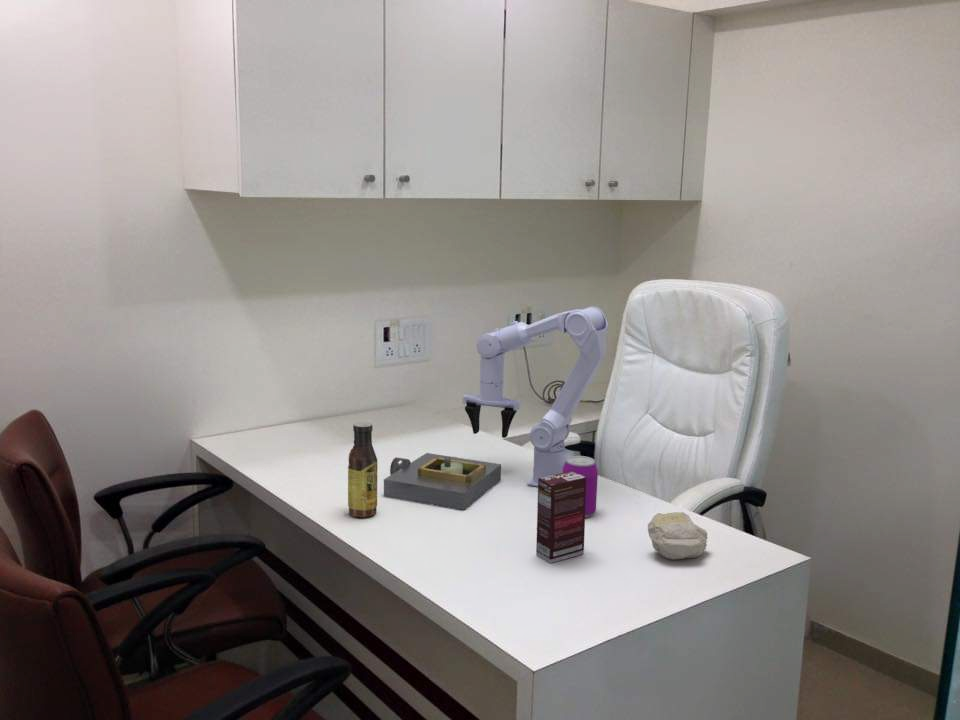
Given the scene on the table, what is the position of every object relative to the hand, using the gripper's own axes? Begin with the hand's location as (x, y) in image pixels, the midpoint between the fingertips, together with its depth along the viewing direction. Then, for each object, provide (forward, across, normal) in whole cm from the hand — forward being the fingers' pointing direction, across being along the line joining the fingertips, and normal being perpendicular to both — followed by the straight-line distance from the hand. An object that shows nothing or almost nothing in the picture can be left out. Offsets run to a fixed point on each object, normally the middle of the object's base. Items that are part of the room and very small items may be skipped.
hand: (490, 434), depth 214 cm
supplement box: (+10, -31, +40) cm, 52 cm away
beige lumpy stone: (+10, -52, +30) cm, 61 cm away
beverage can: (+10, -28, +17) cm, 34 cm away
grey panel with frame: (+9, +6, +16) cm, 20 cm away
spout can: (+10, +3, +16) cm, 19 cm away
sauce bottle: (+10, +14, +38) cm, 42 cm away
